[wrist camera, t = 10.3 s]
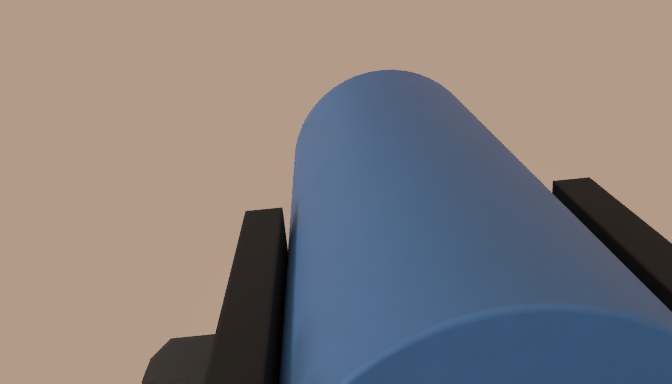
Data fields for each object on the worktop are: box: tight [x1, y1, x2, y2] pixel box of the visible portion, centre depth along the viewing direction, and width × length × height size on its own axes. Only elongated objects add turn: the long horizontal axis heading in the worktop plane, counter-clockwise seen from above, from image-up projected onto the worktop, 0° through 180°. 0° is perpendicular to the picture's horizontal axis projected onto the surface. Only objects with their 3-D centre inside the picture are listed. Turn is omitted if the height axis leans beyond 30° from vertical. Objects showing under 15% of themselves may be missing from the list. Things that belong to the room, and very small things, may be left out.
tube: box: [279, 70, 672, 384], centre depth 13 cm, size 13×6×6 cm, turn 2°
